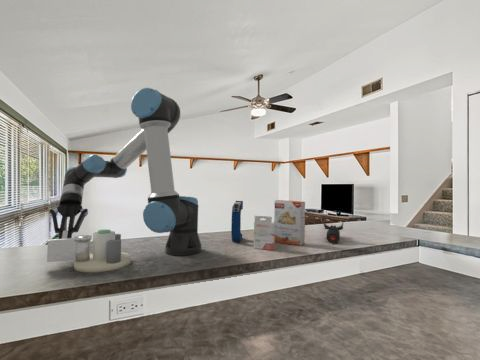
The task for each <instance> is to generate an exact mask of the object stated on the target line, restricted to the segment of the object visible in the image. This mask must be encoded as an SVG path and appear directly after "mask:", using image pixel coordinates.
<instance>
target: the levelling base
mask: <svg viewBox="0 0 480 360" xmlns="http://www.w3.org/2000/svg"><path fill="white" fill-rule="evenodd" d="M121 237H122V234H120V233H116V231H114V230H111V229H99V230H97V231H95V232H93V233H92V253H90V260H88V261H83V262H76V261H75V260H73V269H74V271H77V272H81V273H102V272H111V271H115V270H118V269H122V268H125V267H127V266H129V265H130V264H131V262H132V254H130V253H128V252H123V251H122V240H121V239H122V238H121Z"/></svg>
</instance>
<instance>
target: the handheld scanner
mask: <svg viewBox="0 0 480 360" xmlns="http://www.w3.org/2000/svg"><path fill="white" fill-rule="evenodd" d="M243 204H244V201H243V200H235V202H234V203H233V205H232V209H231V225H230V226H231V229H230V230H231V233H230V234H231V241H232V242H234V243H235V242H241V241H242V239H243V233H242V231H241V229H242V228H241V217H242V216H241V215H242V210H243V207H244V205H243Z"/></svg>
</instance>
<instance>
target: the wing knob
mask: <svg viewBox="0 0 480 360" xmlns="http://www.w3.org/2000/svg"><path fill="white" fill-rule="evenodd" d="M91 240H93V235H89V234H82V235H76V236H74V237H72V238H68V239H59V238H53V239H48V240H47V250H46V251H47V253H46V258H47V259H46V260H47V261H46V262H47V263H53V262H63V261H76V262H83V261H88V260H90V254H91Z"/></svg>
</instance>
